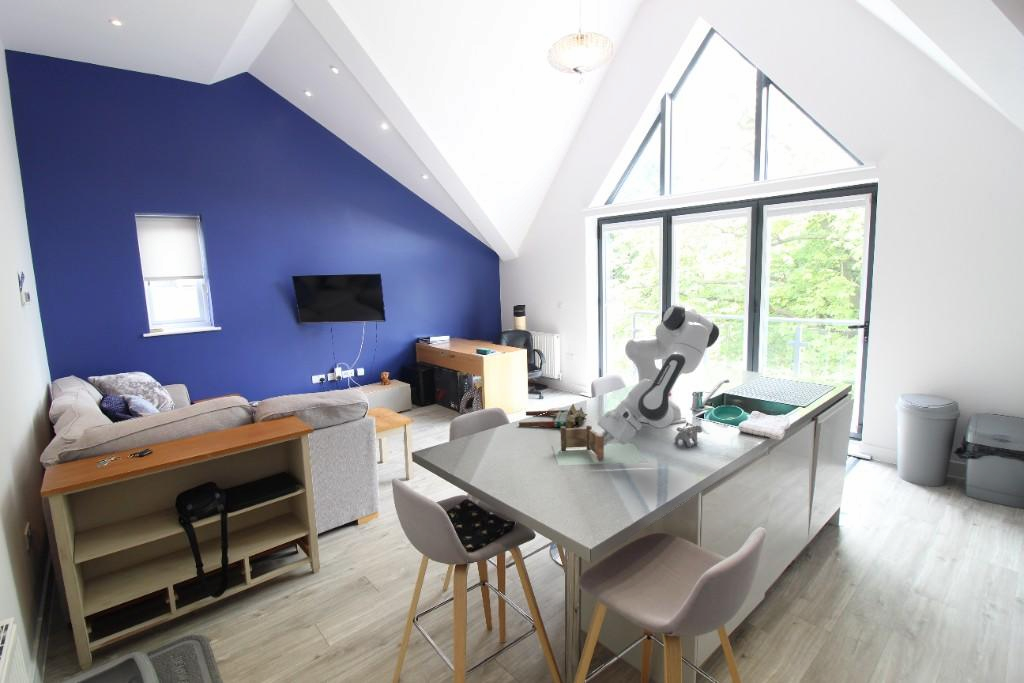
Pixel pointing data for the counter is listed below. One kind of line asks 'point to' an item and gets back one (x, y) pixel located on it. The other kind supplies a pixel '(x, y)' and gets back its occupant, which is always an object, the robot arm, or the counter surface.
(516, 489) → the counter surface
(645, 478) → the counter surface
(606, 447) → the card
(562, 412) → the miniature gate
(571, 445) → the fence fixed
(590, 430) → the fence panel
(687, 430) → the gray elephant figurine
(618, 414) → the robot arm
